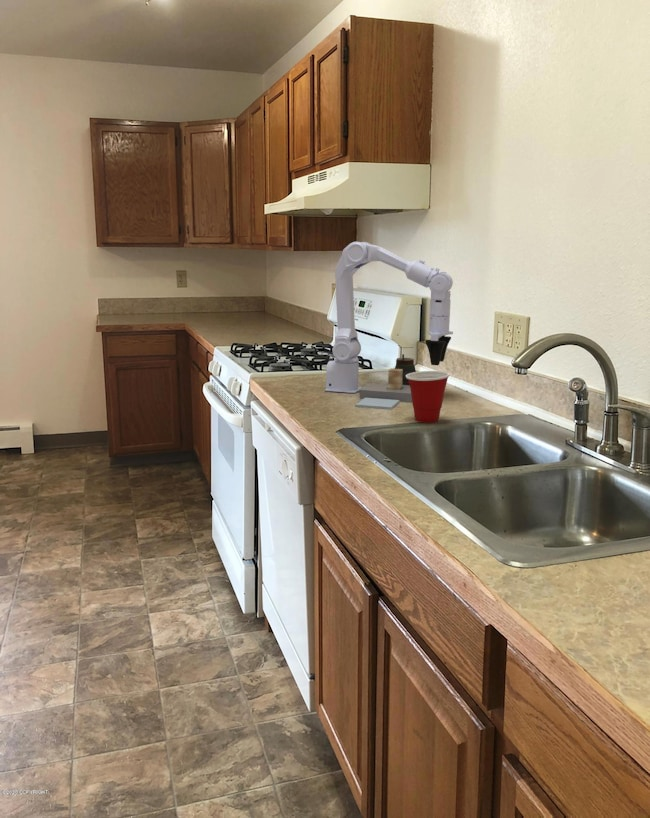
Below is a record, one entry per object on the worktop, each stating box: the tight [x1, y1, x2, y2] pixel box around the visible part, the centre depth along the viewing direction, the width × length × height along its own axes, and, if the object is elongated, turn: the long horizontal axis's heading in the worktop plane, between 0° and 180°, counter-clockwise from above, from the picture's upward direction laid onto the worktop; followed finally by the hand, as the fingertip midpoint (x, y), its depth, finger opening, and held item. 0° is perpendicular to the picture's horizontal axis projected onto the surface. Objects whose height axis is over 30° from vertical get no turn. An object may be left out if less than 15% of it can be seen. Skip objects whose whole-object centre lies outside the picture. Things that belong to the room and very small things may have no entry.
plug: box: [387, 368, 403, 390], centre depth 207 cm, size 3×3×8 cm
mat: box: [355, 398, 401, 410], centre depth 197 cm, size 10×10×1 cm
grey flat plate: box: [358, 382, 412, 403], centre depth 207 cm, size 18×12×2 cm, turn 71°
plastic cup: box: [406, 370, 450, 424], centre depth 178 cm, size 11×11×12 cm
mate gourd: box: [394, 354, 417, 385], centre depth 227 cm, size 7×8×10 cm
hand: (437, 363), depth 205 cm, fingers open, 7 cm apart
